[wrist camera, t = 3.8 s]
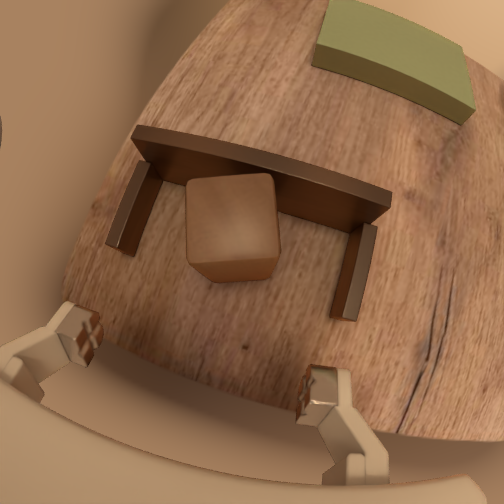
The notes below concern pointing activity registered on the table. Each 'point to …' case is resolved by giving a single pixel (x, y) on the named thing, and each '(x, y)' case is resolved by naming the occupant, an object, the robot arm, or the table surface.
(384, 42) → the board
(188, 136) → the frame
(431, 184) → the table surface
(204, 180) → the wooden block
